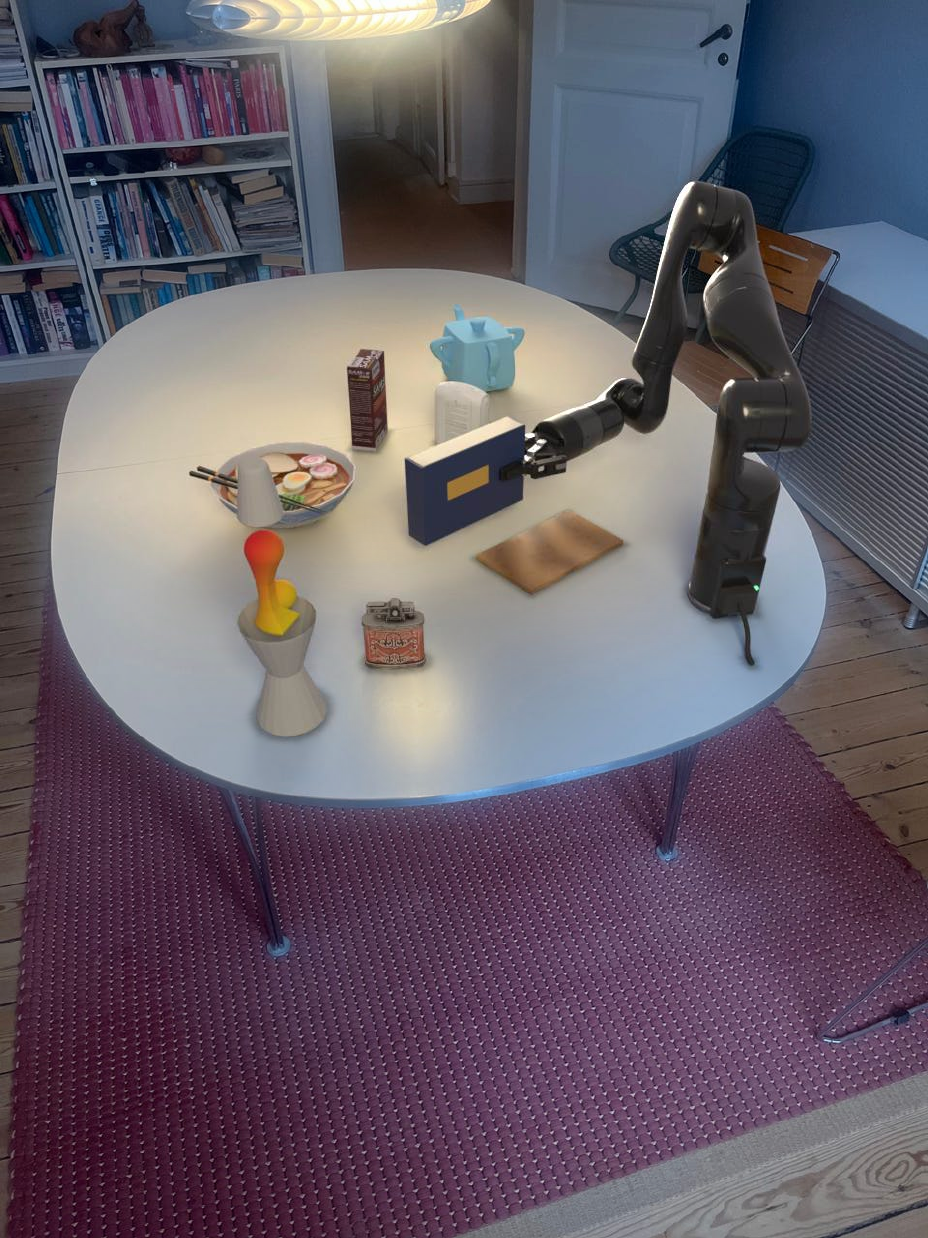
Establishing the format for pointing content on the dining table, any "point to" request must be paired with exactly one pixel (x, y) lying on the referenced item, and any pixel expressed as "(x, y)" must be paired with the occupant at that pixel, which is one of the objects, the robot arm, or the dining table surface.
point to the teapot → (478, 351)
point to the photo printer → (459, 410)
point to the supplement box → (367, 400)
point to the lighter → (393, 635)
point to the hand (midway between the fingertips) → (490, 469)
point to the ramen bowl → (291, 479)
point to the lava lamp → (275, 613)
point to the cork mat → (549, 551)
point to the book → (463, 480)
